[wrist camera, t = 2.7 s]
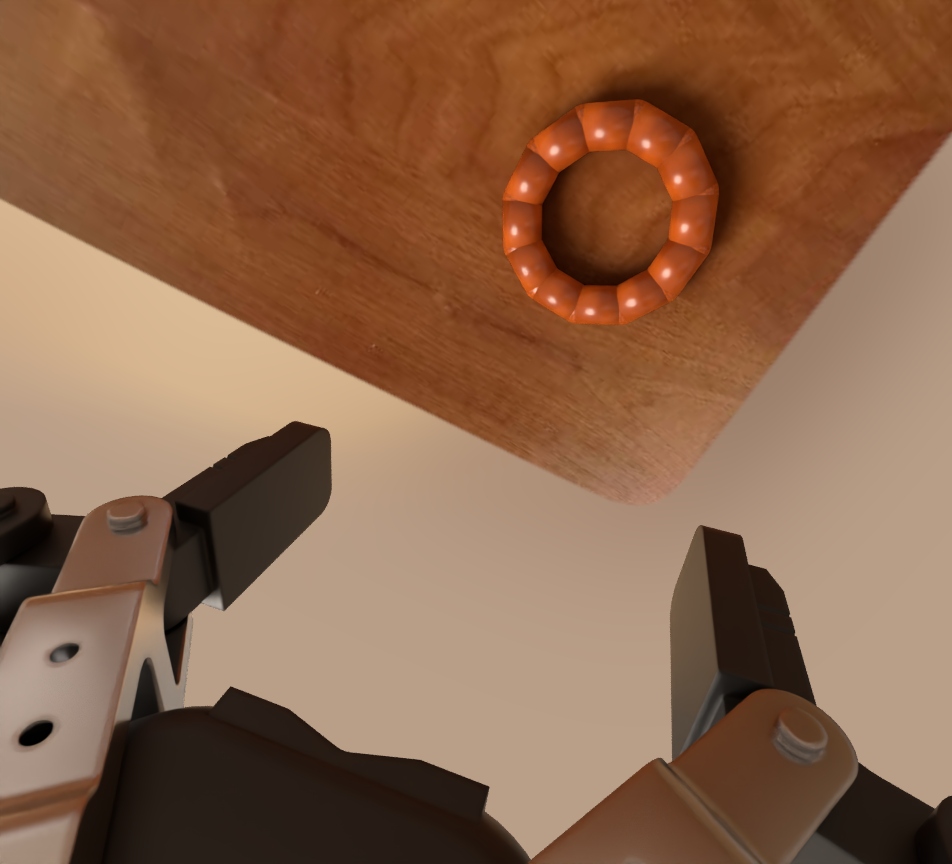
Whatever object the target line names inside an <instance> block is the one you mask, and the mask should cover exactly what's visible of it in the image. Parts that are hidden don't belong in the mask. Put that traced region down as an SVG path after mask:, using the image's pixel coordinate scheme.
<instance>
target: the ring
mask: <svg viewBox="0 0 952 864" xmlns="http://www.w3.org/2000/svg"><path fill="white" fill-rule="evenodd" d="M611 150H628V151H629V152H631V153H633V154H634V155H636V156H638V157H639V158H641V159H643V160H644V161H646V162H648V163H649V164H651V165H653V166H654V167H656V168H657V169H658V172H659V174H660V176H661V178H662V180H663V182H664V184H665V187H666V189H667V191H668V193H669V195H670V197H671V200H672V209H671V218H670V228H669V237H668V240H667V241H666V243H665V244H664V246H663V247H662V249H661V250H660V252H659V253H658V255H657V256H656V258H655V259H654V261H653V262H652V263H651V265H650V266H649V268H648V269H647V270H645V271H643V272H641V273H639V274H637V275H636V276H634V277H632V278H630V279H628V280H626V281H624V282H623V283H621V284H619V285H583V284H582V283H580V282H578V281H577V280H575V279H574V278H572V277H570V276H569V275H567V274H565V273H564V272H562V271H561V270H559V269H557V267H556V265H555V263H554V262H553V260H552V258H551V256H550V254H549V252H548V250H547V248H546V247H545V245H544V243H543V241H542V204H543V202H544V200H545V198H546V197H547V195H548V193H549V191H550V189H551V187H552V185H553V183H554V182H555V180H556V178H557V176H558V174H559V172H561V171H562V170H564V169H565V168H567V167H568V166H569V165H571V164H572V163H574V162H575V161H577V160H578V159H580V158H581V157H583V156H584V155H586V154H587V153H589V152H592V151H611ZM718 198H719V185H718V182H717V180H716V177H715V175H714V173H713V171H712V168H711V166H710V164H709V162H708V159H707V157H706V155H705V152H704V150H703V148H702V146H701V143H700V141H699V139H698V137H697V135H696V133H695V132H694V130H693V129H691V128H690V127H688V126H687V125H685V124H683V123H682V122H680V121H678V120H677V119H675V118H673V117H672V116H670V115H668V114H667V113H665V112H663V111H662V110H660V109H658V108H657V107H655V106H653V105H652V104H650V103H648V102H646V101H644V100H641V99H632V100H619V101H606V102H594V103H584V104H580V105H578V106H576V107H575V108H573V109H572V110H571V111H569V112H568V113H566V114H565V115H564V116H562V117H561V118H559V119H558V120H557V121H555V122H554V123H553V124H551V125H550V126H548V127H547V128H546V129H544V130H543V131H542V132H540V133H539V134H537V135H536V136H535V137H533V138H532V139H531V140H530V141H529V143H528V144H527V146H526V148H525V150H524V152H523V154H522V156H521V158H520V160H519V162H518V164H517V167H516V169H515V171H514V173H513V175H512V177H511V179H510V181H509V183H508V185H507V187H506V189H505V191H504V194H503V247H504V252H505V254H506V257H507V258H508V260H509V262H510V264H511V266H512V268H513V269H514V271H515V273H516V275H517V277H518V278H519V280H520V282H521V284H522V286H523V287H524V289H525V291H526V293H527V294H528V296H529V297H530V298H532V299H533V300H535V301H536V302H538V303H539V304H541V305H543V306H544V307H546V308H548V309H549V310H551V311H552V312H554V313H556V314H557V315H559V316H561V317H562V318H564V319H565V320H567V321H569V322H571V323H576V324H604V325H624V324H627V323H630V322H632V321H634V320H636V319H638V318H640V317H642V316H644V315H646V314H648V313H650V312H652V311H654V310H656V309H658V308H660V307H662V306H664V305H666V304H668V303H670V302H671V301H673V300H674V299H676V298H677V296H678V295H679V294H680V292H681V291H682V290H683V288H684V287H685V286H686V284H687V283H688V281H689V280H690V279H691V277H692V276H693V275H694V273H695V272H696V270H697V269H698V268H699V266H700V265H701V264H702V262H703V261H704V260H705V258H706V257H707V255H708V254H709V252H710V250H711V247H712V241H713V234H714V227H715V219H716V212H717V205H718Z"/></svg>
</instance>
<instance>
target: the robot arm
mask: <svg viewBox="0 0 952 864" xmlns="http://www.w3.org/2000/svg"><path fill="white" fill-rule="evenodd" d="M331 481H332V480H331V438H330V434H329V432H328V430H327V429H325V428H321V427H317V426H313V425H309V424H305V423H301V422H297V421H294V422H291V423H289V424H288V425H286V426H285V427H284V428H282V429H280V430H279V431H278V432H276V433H275V434H273V435H272V436H270V437H269V436H267V437H264V438H261V439H258V440H255V441H252V442H249V443H246V444H244V445H243V446H241V447H240V448H238V449H237V450H235V451H233V452H232V453H230V454H229V455H228V457H227V458H223V459H221V460H220V461H218V462H217V463H215V464H214V465H213V467H209V468H207V469H206V470H205V471H203V472H201V473H200V474H198V475H197V476H195V477H193V478H192V479H191V480H189V481H187V482H186V483H184V484H183V485H181V486H180V487H178V488H177V489H175V490H173V491H172V492H170V493H169V494H167V495H166V496H164V497H163V498H158V497H153V496H132V497H125V498H120V499H117V500H113V501H111V502H108V503H105V504H103V505H101V506H99V507H97V508H96V509H94V510H93V511H91V512H90V513H89V514H88V515H87V516H71V515H54V514H51V513H50V510H49V507H48V504H47V500H46V497H45V495H44V494H43V493H42V492H41V491H39V490H36V489H33V488H26V487H10V488H2V489H0V864H952V796H949V797H947V798H945V799H944V800H942V802H941V803H940V804H939V805H938V806H937V807H936V808H935V809H934V808H933V807H931V806H929V805H927V804H925V803H924V802H922V801H920V800H919V799H917V798H915V797H913V796H912V795H910V794H908V793H906V792H905V791H903V790H901V789H900V788H898V787H896V786H894V785H892V784H891V783H889V782H888V781H886V780H884V779H882V778H881V777H879V776H877V775H876V774H874V773H873V772H871V771H870V770H868V769H867V768H866V767H864V766H863V765H862V764H860V763H859V762H858V759H857V756H856V752H855V750H854V748H853V746H852V744H851V742H850V740H849V739H848V737H847V736H846V734H845V733H844V731H843V730H842V729H841V728H840V726H838V724H837V723H836V722H835V721H834V720H833V719H832V718H831V717H830V716H828V715H827V714H826V713H825V712H824V711H823V710H821V709H820V708H818V707H817V706H816V702H815V699H814V695H813V693H812V689H811V685H810V682H809V678H808V675H807V671H806V668H805V665H804V661H803V657H802V654H801V650H800V647H799V643H798V640H797V637H796V636H795V630H794V626H793V622H792V619H791V617H789V615H790V612H789V608H788V605H787V601H786V598H785V594H784V591H783V590H782V589H781V587H780V586H779V585H778V583H777V582H776V581H775V580H774V578H773V577H772V576H771V575H770V573H769V572H768V571H767V570H766V569H764V568H760V567H756V566H752V565H749V564H748V562H747V556H746V552H745V547H744V543H743V538H742V537H741V535H737V534H734V533H730V532H726V531H722V530H718V529H714V528H710V527H706V526H702V525H700V526H699V527H698V528H697V530H696V532H695V534H694V537H693V539H692V542H691V545H690V548H689V551H688V553H687V556H686V559H685V562H684V564H683V567H682V570H681V572H680V575H679V578H678V581H677V584H676V586H675V590H674V594H673V598H672V604H671V611H670V633H671V634H670V637H671V638H670V639H671V640H670V641H671V706H672V707H671V708H672V762H671V763H668V764H667V763H666V762H665V761H664V760H663V759H662V758H657V759H654V760H652V761H651V762H650V763H648V764H646V765H645V766H644V767H642V768H641V769H640V770H639V771H638V772H636V773H635V774H634V775H633V776H632V777H630V778H629V779H628V780H627V781H626V782H624V783H623V784H622V785H621V786H620V787H618V788H617V789H616V790H615V791H613V792H612V793H611V794H610V795H609V796H607V797H606V798H605V799H604V800H603V801H602V802H600V803H599V804H598V805H597V806H595V807H594V808H593V809H592V810H591V811H589V812H588V813H587V814H586V815H585V816H583V817H582V818H581V819H580V820H579V821H577V822H576V823H575V824H574V825H572V826H571V827H570V828H569V829H568V830H567V831H565V832H564V833H563V834H562V835H561V836H559V837H558V838H557V839H556V840H554V841H553V842H552V843H551V844H550V845H549V846H547V847H546V848H545V849H544V850H542V851H541V852H540V853H539V854H537V855H536V856H535V857H534V858H533V859H532V860H531V859H530V858H529V856H528V855H527V853H526V852H525V851H524V849H523V848H522V847H521V846H520V844H519V843H518V842H517V841H516V840H515V838H514V837H513V836H512V835H511V834H510V833H509V832H508V831H507V830H506V829H505V828H504V827H503V826H502V825H501V824H500V823H499V822H498V821H496V820H495V819H494V818H493V817H491V816H490V815H489V814H487V813H486V812H485V806H486V802H487V797H488V792H489V786H486V785H483V784H481V783H479V782H476V781H473V780H471V779H468V778H465V777H463V776H460V775H458V774H455V773H453V772H450V771H447V770H445V769H442V768H440V767H437V766H435V765H432V764H430V763H427V762H424V761H422V760H416V759H407V758H398V757H389V756H379V755H369V754H360V753H350V752H346V751H343V750H341V749H339V748H338V747H336V746H335V745H334V744H332V743H331V742H330V741H328V740H327V739H326V738H325V737H324V736H322V735H321V734H320V733H318V732H317V731H316V730H315V729H313V728H312V727H311V726H310V725H308V724H307V723H306V722H305V721H303V720H302V719H301V718H299V717H298V716H297V715H296V714H294V713H293V712H292V711H291V710H289V709H287V708H285V707H282V706H280V705H277V704H274V703H272V702H269V701H267V700H264V699H262V698H259V697H257V696H254V695H252V694H249V693H246V692H244V691H241V690H238V689H236V688H233V687H230V688H229V689H228V690H227V691H226V692H225V694H224V695H223V696H222V697H221V698H220V700H219V701H218V702H217V703H216V704H215V705H214V707H212V706H195V707H185V708H184V696H185V687H186V679H187V671H188V662H189V653H190V645H191V636H192V628H193V618H192V611H193V610H194V609H195V608H196V607H197V606H198V605H199V604H200V603H202V604H205V605H208V606H210V607H213V608H216V609H219V610H222V611H225V610H226V609H227V608H228V606H230V605H231V604H232V602H234V601H235V600H236V598H238V596H240V595H241V594H242V593H243V592H244V591H245V590H246V589H247V588H248V587H249V586H250V585H251V584H252V583H253V582H254V581H255V580H256V579H257V577H259V576H260V575H261V574H262V573H263V572H264V571H265V570H266V569H267V568H268V567H269V566H270V565H271V564H272V563H273V562H274V561H275V560H276V558H278V557H279V556H280V554H281V553H282V552H284V550H286V549H287V548H288V547H289V546H290V545H291V544H292V543H293V542H294V540H296V539H297V538H298V537H299V536H300V535H301V534H302V533H303V532H304V531H305V530H306V529H307V528H308V527H309V525H311V524H312V523H313V522H314V521H315V520H316V519H317V518H318V517H319V516H320V515H321V514H322V512H323V511H324V510H325V508H326V506H327V504H328V502H329V499H330V495H331V489H332V488H331V487H332V483H331Z"/></svg>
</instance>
